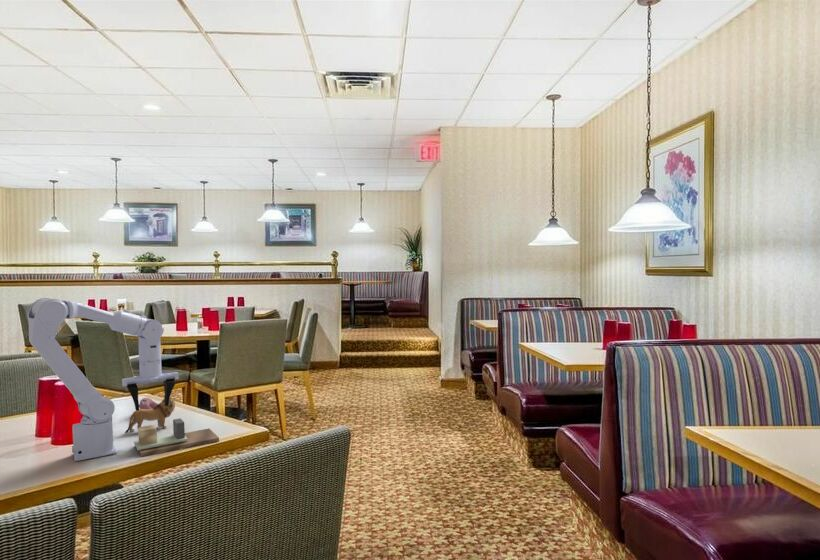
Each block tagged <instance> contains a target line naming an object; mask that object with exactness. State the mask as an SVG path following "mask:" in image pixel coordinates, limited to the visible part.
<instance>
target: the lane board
mask: <svg viewBox="0 0 820 560" xmlns="http://www.w3.org/2000/svg"><path fill="white" fill-rule="evenodd" d="M185 436H186V437H187V438H188V441H183V442H178V443H173V444H168V445H162V446H157V447H152V448H147V449H142V450H137V451H138V453H139V456H140V458H141V457H142V456H143V457H146V456H147V455H148V456H152V454H153V455H157V453H158V454H162V452H163V453H167V452H166V451H168V452H172V451H171V450H173V451H176V449H178V450H181V449H180V448H183V449H186V448H185V447H188V448H190V447H189V446H193V445H198V446H200V445H199V444H203V445H206V444H205V443H208V444H210V443H209V442H213V443H216V442H215V441H218V442H220V437H219V436H218V435H217V434H216V433H215V432H214V431H213V430H212V429H211V428H204V429H199V430H194V431H187V432H185ZM193 447H194V446H193ZM148 456H147V457H148ZM143 457H142V458H143Z"/></svg>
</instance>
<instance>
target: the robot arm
mask: <svg viewBox="0 0 820 560" xmlns="http://www.w3.org/2000/svg"><path fill="white" fill-rule="evenodd" d="M74 318H83V319H87V320H92V321H96V322H99V323H104V324H107V325H108V326H109V328H110V330H111V331H114V332H119V333H122V334H127V335H130V336H133V337H137V338H138V363H139V365H138V366H139V375H137V376H132V377H126V378H125V377H124V378H121V382H122V383H121V384H122V387H126V388H127V390H128V392H129V393H130V395H131V396H130V397H131V398H132V400H133V403H134V408H135V411H138V410H139V409H140V408H139V404H140V402H139V387H138V385H142V384H151V383H158V382H163V390H164V391H163V392H164V398H163V399H164V404H165V406H168V404H169V399H170V397H171V394H172V393H173V392H172V391H174V390H173V389H174V387H175V386H176V380H179V377H180V376H179V375H180V374H179V372H178V371H174V372H163V371H162V369H163V368H162V346H161V337H162V336H163V334H164V331H165V328H164V327H163V325H162V323H160V321H158V319H151V318H148V317H147V316H146V315H144V314H141V315H138V314H134V313H131V312H130V310H128V309H122V310H121V309H120V310H115V311H113V312H110V311H107V310H104V309H100V308H98V307H94V306H90V305H86V304H85V303H82V302H77V301H71V300H70V301H69V300H63V299H62V300H61V299H60V298H59V299H58V298H48V297H42V298H38V299H36V300H35V301H34V302H33V303H32V304H31V306H30V308H29V311H28V313H27V320H28V341H29V343H30V345H31V346H32V347H33V348H34V350H35V351H36V352H37V354H38V355H39V356H40V357H41V358H42V359H43V361H44V363H46V364H47V365H48V367H49V368H50V369H51V370H52V371H53V373H54V374H55V375H56V376H57V377H58V379H59V380H60V381H61V382H62V384H63V385H64V386H65V387H66V389H68V390H69V392H70V394H72V396H73V400H75V401H76V403H77V405H78V406H77V408H78V411H79V412H80V414H81V415H83V416H82V418H81V419H80V422H78V423H74V424H72V443H73V445H72V446H71V449H72V452H71V453H73V459H74V462H79V461H83V460H90V459H95V458H99V457H105V456H110V455H114V454H117V450H116V447H115V444H114V434H113V433H114V430H113V415H114V412H115V408H116V407H115V404H114V402H113V401H112V400H111V399H110V398H108V397H105V396H103V394H102V393H101V392H100V391H99V390H98V389H97V388H96V387H94V386H93V385H92V383H91V381H89V379H88V378H87V377H86V375H85V374H84V373H83V372H82V371H81V369H80V368H79V367H78V366H77V365H76V363H75V362H74V361H73V360H72V358H71V357H70V356H69V354H68V353H67V351H65V350H64V349H63V347H62V346H61V344H60V343H59V342H58V341H57V339H56V336H57V332H58V330H59V327H60V326H61V325H62V324H63V322H64V321H65V320H66V319H67V320H70V319H74Z"/></svg>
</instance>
